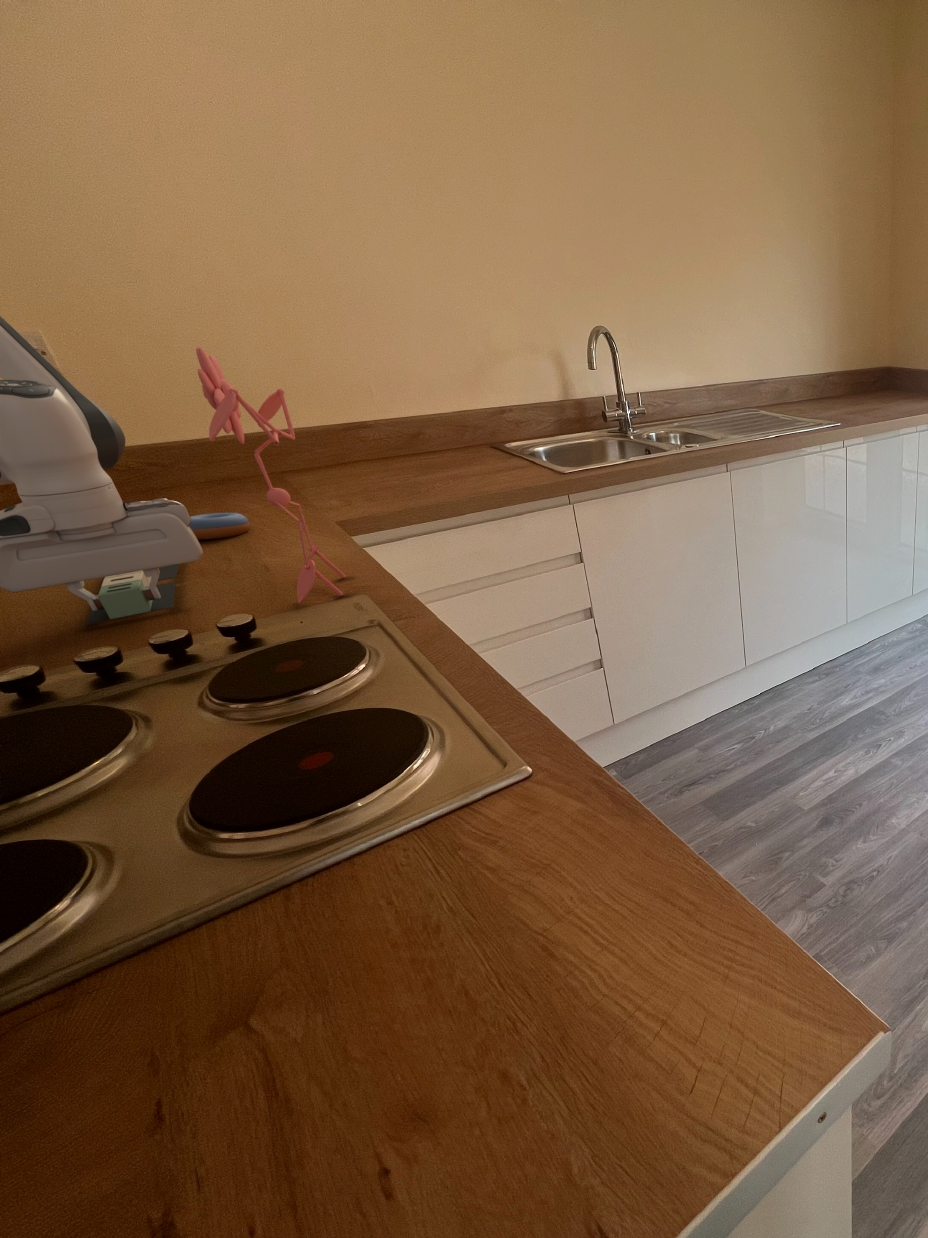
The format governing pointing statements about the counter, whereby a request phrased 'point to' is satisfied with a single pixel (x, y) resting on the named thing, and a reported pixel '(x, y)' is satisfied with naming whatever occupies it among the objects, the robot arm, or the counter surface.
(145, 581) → the white slotted box
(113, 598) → the slotted green block
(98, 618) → the mats
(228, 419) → the figurine
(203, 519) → the doughnut
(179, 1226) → the counter surface
